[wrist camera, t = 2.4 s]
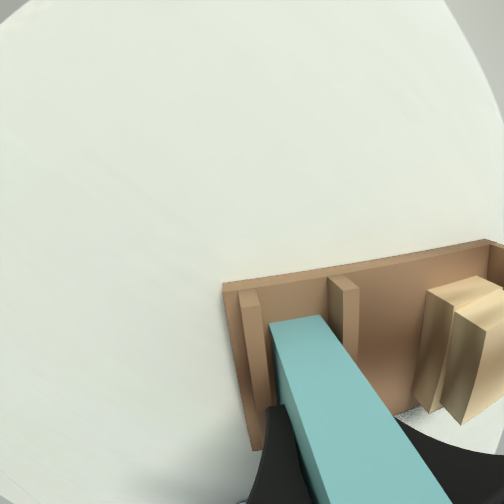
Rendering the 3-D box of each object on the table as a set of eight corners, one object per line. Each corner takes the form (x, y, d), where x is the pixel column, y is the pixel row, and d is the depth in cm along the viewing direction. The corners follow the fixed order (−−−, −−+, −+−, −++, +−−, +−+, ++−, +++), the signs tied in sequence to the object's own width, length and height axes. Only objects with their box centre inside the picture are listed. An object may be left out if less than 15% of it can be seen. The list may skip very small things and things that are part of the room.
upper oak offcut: (482, 376, 11) (504, 394, 9) (439, 402, 11) (460, 425, 9) (499, 288, 10) (529, 303, 8) (454, 311, 10) (486, 331, 8)
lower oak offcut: (457, 371, 13) (477, 388, 11) (410, 392, 13) (428, 413, 11) (476, 275, 12) (503, 287, 10) (426, 289, 11) (454, 306, 10)
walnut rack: (461, 373, 15) (484, 393, 12) (250, 438, 14) (255, 474, 11) (484, 238, 12) (517, 248, 10) (222, 283, 12) (223, 310, 9)
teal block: (320, 420, 13) (384, 575, 4) (279, 429, 12) (324, 594, 4) (319, 314, 11) (457, 511, 2) (268, 323, 11) (350, 560, 2)
